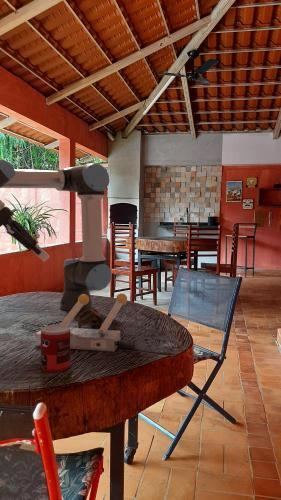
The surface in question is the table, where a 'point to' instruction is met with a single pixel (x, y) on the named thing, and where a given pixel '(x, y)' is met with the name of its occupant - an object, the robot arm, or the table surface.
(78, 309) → the toggle
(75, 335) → the switch box
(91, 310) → the pottery mug
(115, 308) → the toggle
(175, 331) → the table surface
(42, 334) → the canned food
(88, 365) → the table surface
